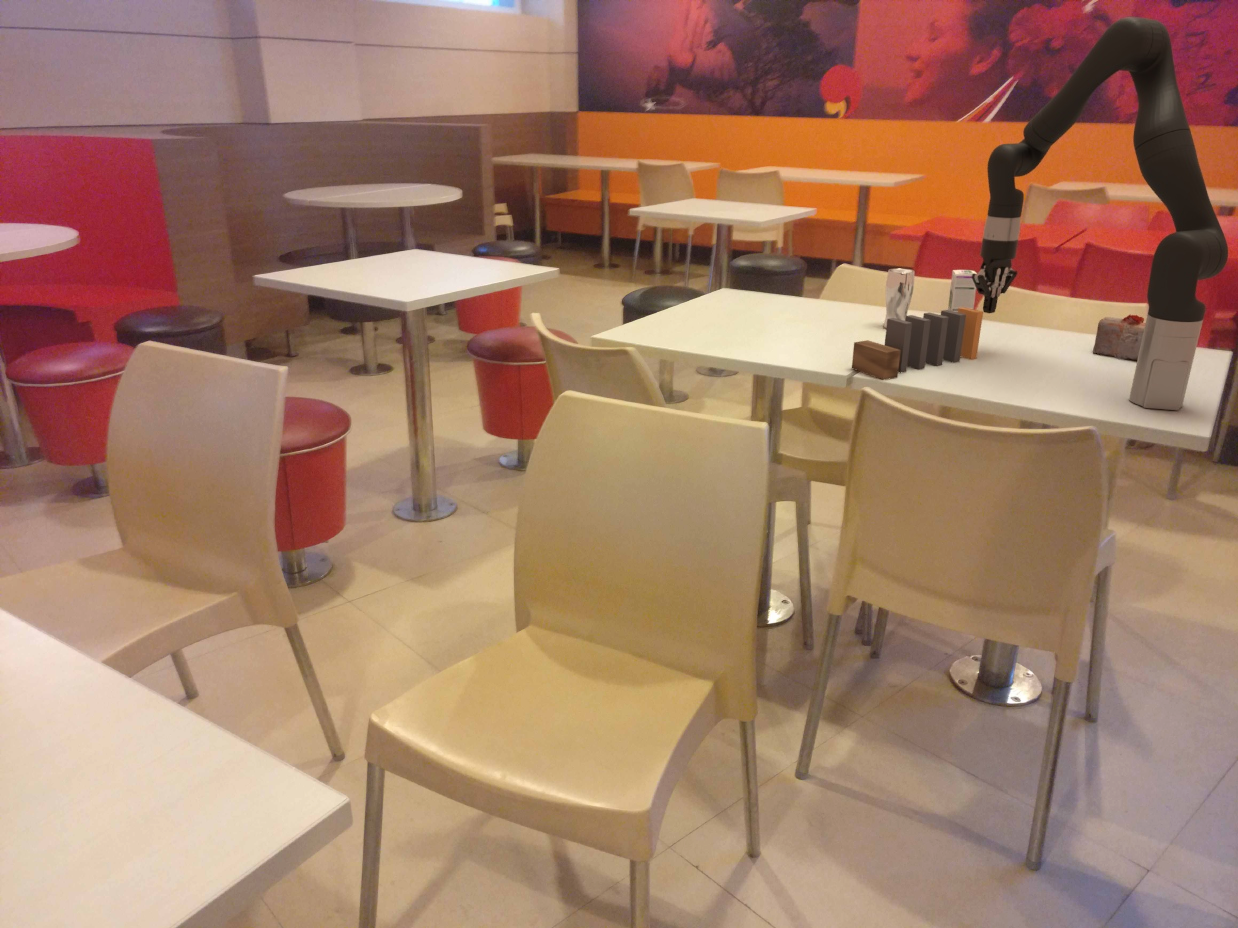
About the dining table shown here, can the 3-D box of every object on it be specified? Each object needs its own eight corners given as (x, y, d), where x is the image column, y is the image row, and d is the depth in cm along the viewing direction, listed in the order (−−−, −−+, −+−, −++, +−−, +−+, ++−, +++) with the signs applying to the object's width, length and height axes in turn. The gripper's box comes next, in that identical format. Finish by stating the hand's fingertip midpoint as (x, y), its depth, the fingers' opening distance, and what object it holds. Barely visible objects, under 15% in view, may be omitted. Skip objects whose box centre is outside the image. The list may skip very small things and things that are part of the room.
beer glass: (878, 329, 236) (884, 271, 230) (884, 323, 241) (890, 267, 236) (905, 332, 233) (912, 274, 227) (911, 326, 238) (918, 269, 233)
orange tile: (957, 353, 213) (963, 307, 209) (976, 358, 209) (983, 311, 204) (952, 354, 212) (958, 308, 208) (970, 359, 208) (977, 312, 204)
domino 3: (923, 359, 208) (929, 312, 204) (942, 365, 204) (948, 317, 199) (917, 360, 207) (923, 313, 203) (936, 366, 203) (942, 318, 199)
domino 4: (940, 356, 211) (946, 309, 206) (959, 361, 206) (966, 314, 202) (935, 357, 210) (941, 310, 206) (953, 362, 205) (960, 315, 201)
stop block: (865, 366, 203) (867, 340, 201) (897, 377, 195) (900, 350, 193) (851, 368, 201) (854, 342, 199) (883, 379, 193) (886, 352, 191)
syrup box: (971, 329, 235) (979, 273, 229) (947, 328, 236) (955, 273, 231) (968, 324, 240) (975, 270, 235) (944, 323, 241) (952, 269, 236)
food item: (1161, 358, 208) (1171, 316, 205) (1152, 365, 203) (1162, 322, 199) (1098, 348, 217) (1106, 308, 213) (1088, 355, 211) (1096, 313, 208)
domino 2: (906, 362, 206) (911, 315, 202) (924, 368, 201) (930, 320, 197) (900, 363, 205) (905, 316, 201) (918, 369, 200) (924, 320, 196)
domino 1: (888, 365, 203) (893, 317, 199) (906, 371, 199) (912, 322, 195) (882, 366, 202) (887, 318, 198) (900, 372, 198) (906, 323, 194)
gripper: (993, 241, 197) (981, 319, 204) (1034, 237, 203) (1021, 312, 209) (966, 237, 203) (956, 312, 210) (1007, 232, 209) (995, 306, 216)
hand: (988, 312), depth 210 cm, fingers closed
